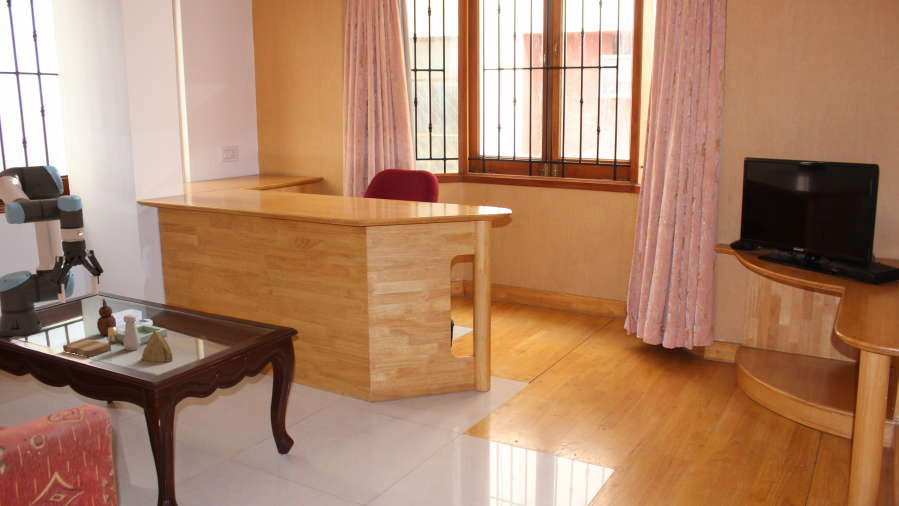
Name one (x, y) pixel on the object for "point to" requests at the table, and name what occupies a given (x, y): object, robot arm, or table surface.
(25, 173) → the robot arm
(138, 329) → the tray
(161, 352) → the tan rounded pyramid
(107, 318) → the wooden figurine
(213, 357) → the table surface
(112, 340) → the bench dog
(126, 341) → the salt shaker
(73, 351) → the brown grooved block
